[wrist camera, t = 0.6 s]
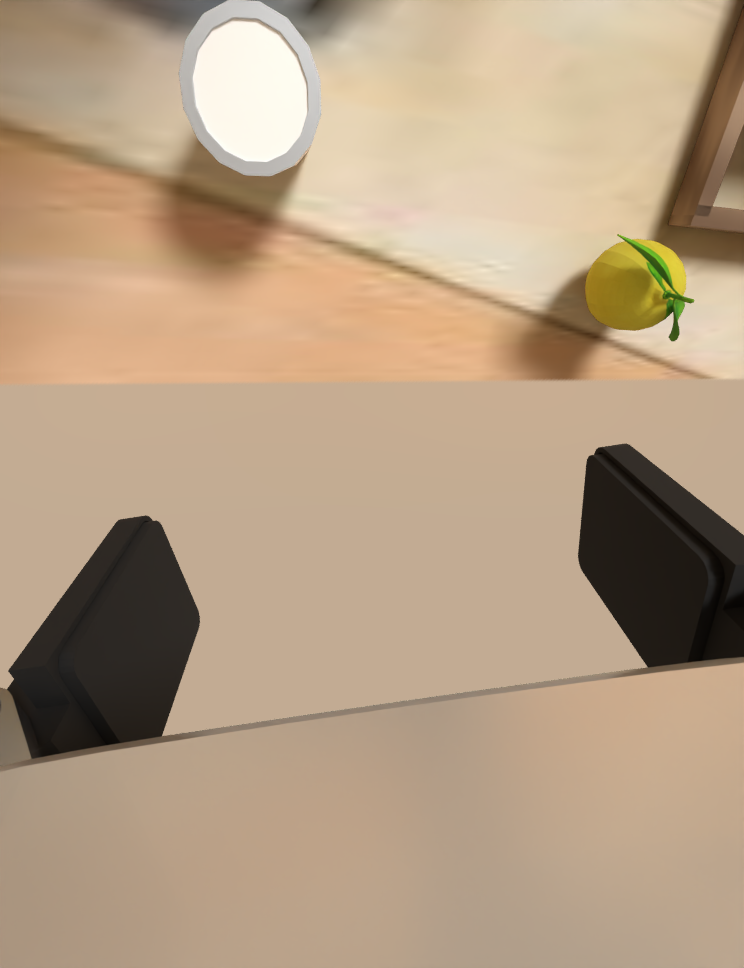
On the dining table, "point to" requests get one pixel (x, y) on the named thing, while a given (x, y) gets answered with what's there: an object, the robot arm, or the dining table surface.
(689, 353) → the dining table surface
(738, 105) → the frame
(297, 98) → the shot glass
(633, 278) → the lemon
